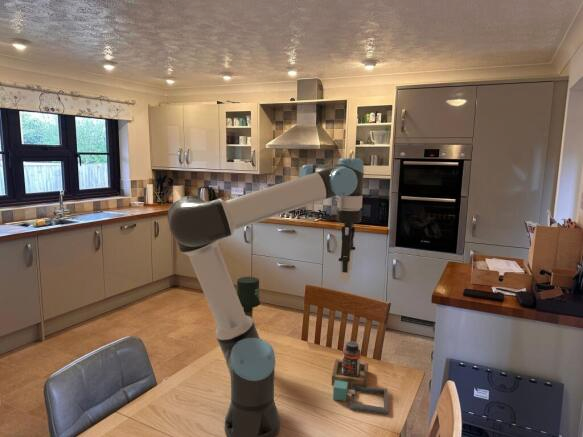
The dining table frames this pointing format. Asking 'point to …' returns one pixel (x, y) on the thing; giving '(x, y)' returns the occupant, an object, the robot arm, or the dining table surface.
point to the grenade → (248, 293)
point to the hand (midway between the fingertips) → (346, 275)
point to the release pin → (341, 390)
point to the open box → (351, 380)
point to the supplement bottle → (351, 360)
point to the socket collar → (368, 407)
